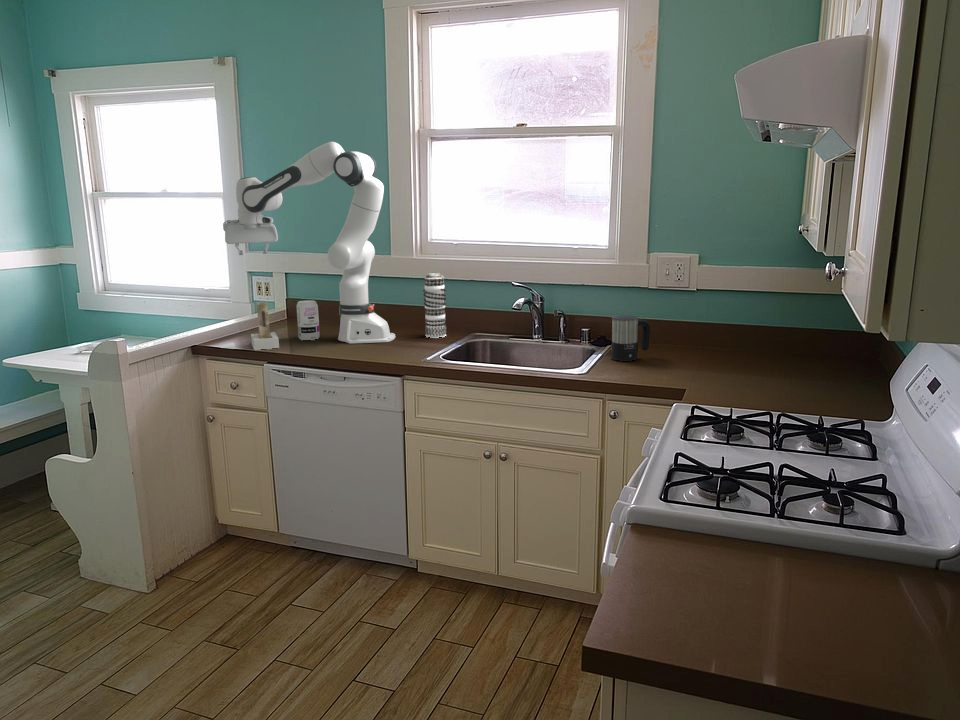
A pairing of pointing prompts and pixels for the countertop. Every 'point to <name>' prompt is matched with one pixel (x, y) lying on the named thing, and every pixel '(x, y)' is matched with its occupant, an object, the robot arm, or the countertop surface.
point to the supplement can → (308, 320)
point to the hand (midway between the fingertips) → (253, 254)
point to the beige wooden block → (263, 320)
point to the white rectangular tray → (265, 342)
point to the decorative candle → (435, 305)
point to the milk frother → (628, 337)
